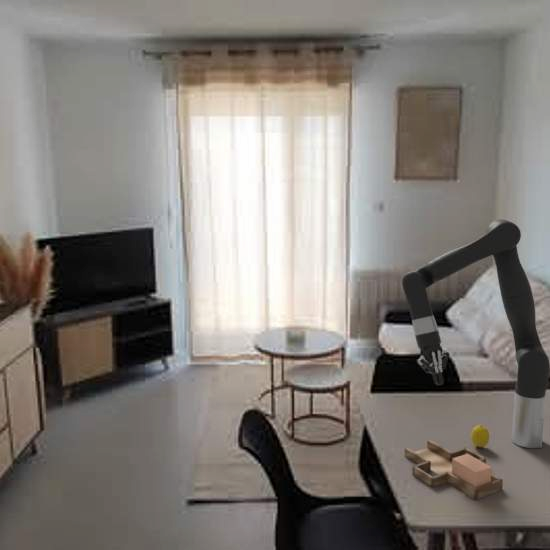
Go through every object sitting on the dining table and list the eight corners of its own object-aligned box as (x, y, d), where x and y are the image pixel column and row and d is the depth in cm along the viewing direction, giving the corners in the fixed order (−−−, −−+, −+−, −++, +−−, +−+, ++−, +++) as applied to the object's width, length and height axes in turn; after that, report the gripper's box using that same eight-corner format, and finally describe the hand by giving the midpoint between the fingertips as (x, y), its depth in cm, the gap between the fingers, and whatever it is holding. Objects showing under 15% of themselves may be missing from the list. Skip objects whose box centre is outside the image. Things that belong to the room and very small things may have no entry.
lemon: (479, 453, 191) (481, 430, 189) (467, 446, 196) (468, 423, 194) (492, 449, 193) (493, 426, 192) (479, 442, 198) (480, 420, 197)
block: (451, 480, 174) (452, 458, 173) (466, 475, 177) (467, 453, 176) (474, 495, 167) (475, 472, 165) (490, 489, 169) (491, 467, 168)
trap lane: (390, 461, 187) (390, 452, 186) (441, 443, 198) (442, 435, 197) (461, 506, 162) (462, 496, 161) (515, 483, 173) (516, 474, 172)
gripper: (419, 333, 186) (433, 388, 184) (448, 326, 192) (462, 379, 190) (403, 336, 192) (416, 389, 190) (432, 329, 199) (446, 380, 197)
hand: (439, 384), depth 190 cm, fingers closed
